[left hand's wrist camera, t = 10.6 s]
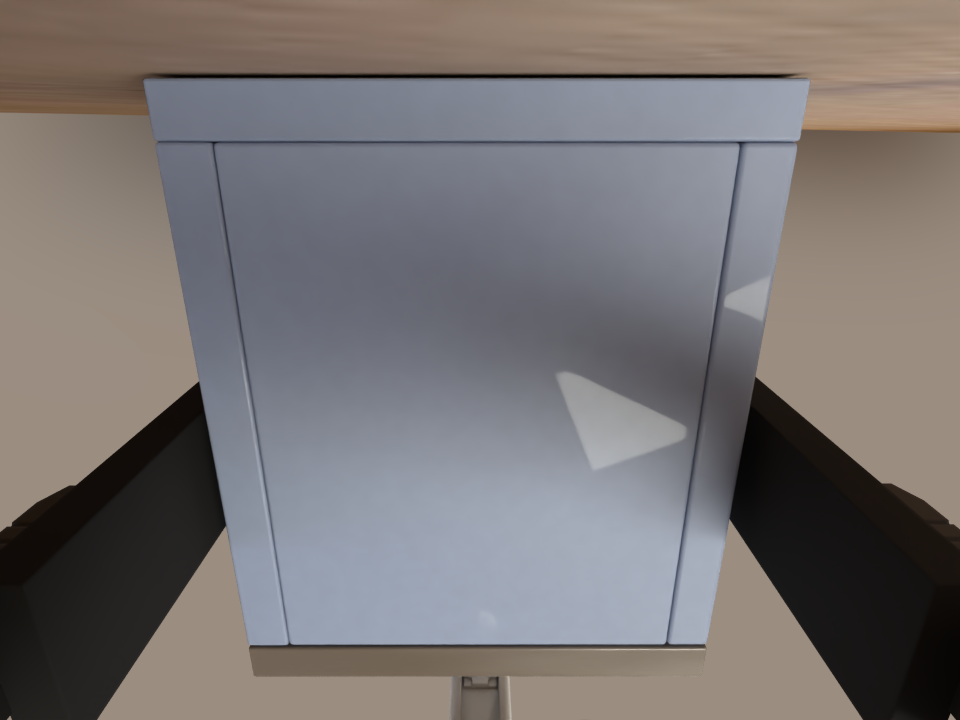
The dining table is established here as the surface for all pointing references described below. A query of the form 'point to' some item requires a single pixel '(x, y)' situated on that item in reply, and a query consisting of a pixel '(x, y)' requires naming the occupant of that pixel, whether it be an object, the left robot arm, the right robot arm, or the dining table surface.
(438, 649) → the lid
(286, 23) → the dining table surface
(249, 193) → the chest
